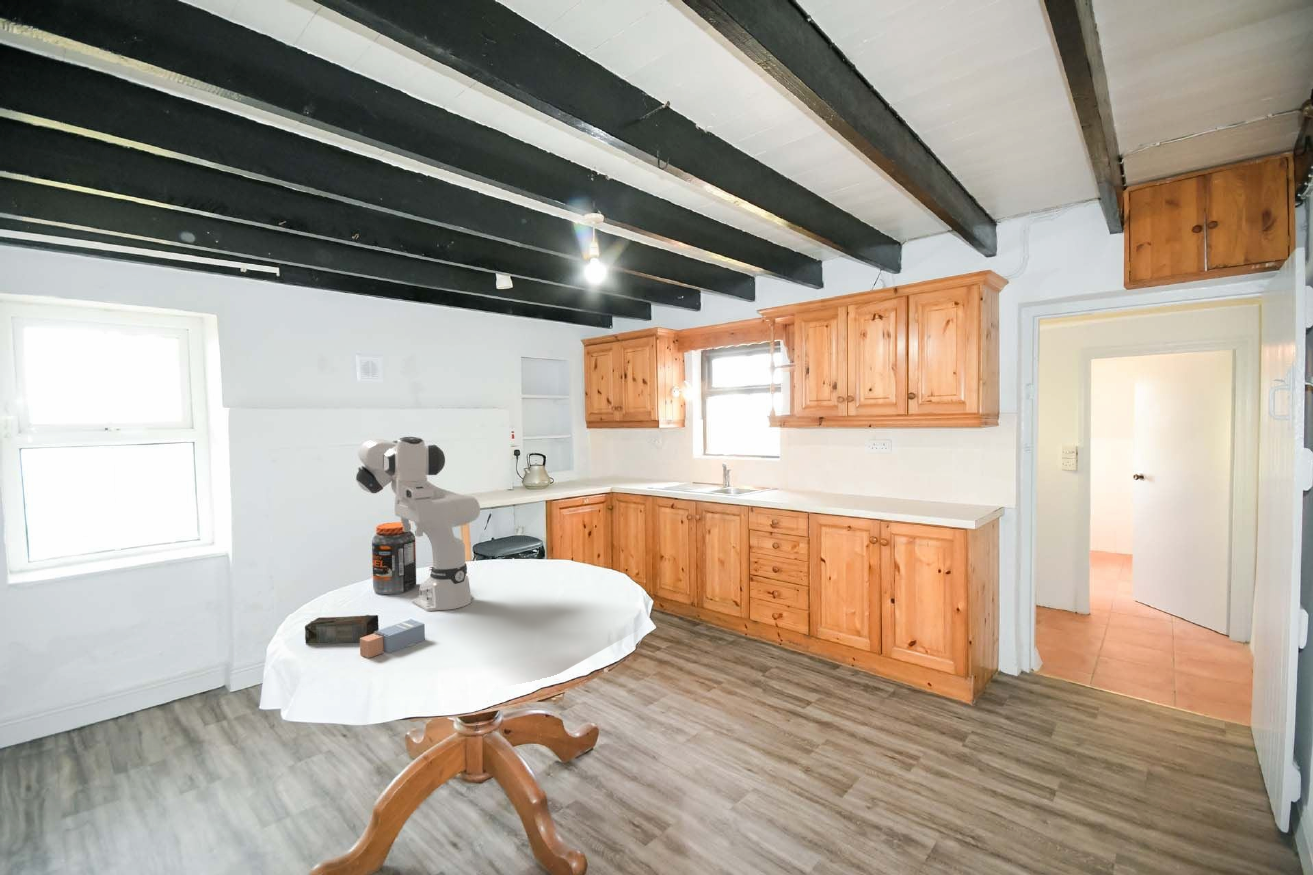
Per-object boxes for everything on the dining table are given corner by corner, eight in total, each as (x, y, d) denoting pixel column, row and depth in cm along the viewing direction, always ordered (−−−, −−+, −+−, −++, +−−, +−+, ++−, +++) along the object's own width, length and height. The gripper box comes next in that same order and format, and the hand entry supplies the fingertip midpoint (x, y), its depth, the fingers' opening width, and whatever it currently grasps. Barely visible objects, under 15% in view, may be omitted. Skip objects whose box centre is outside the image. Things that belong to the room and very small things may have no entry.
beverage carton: (318, 634, 180) (317, 614, 180) (380, 633, 181) (379, 612, 181) (304, 645, 172) (303, 623, 172) (369, 643, 173) (368, 621, 173)
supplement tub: (365, 590, 224) (363, 525, 223) (403, 581, 237) (401, 519, 236) (386, 598, 215) (384, 530, 214) (424, 587, 227) (422, 523, 226)
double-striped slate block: (374, 648, 169) (374, 631, 168) (411, 634, 178) (411, 618, 178) (387, 653, 165) (387, 636, 164) (424, 639, 175) (424, 623, 174)
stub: (360, 654, 164) (359, 637, 164) (375, 649, 167) (374, 632, 167) (368, 658, 161) (367, 640, 161) (383, 652, 165) (382, 635, 165)
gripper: (388, 487, 181) (389, 530, 181) (414, 493, 166) (415, 540, 167) (408, 485, 185) (409, 527, 186) (436, 491, 171) (436, 537, 171)
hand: (412, 533), depth 176 cm, fingers open, 8 cm apart
